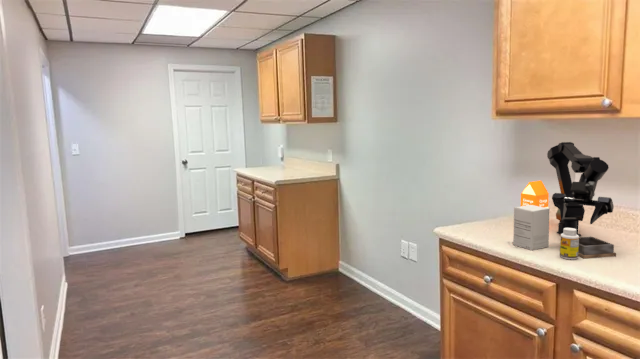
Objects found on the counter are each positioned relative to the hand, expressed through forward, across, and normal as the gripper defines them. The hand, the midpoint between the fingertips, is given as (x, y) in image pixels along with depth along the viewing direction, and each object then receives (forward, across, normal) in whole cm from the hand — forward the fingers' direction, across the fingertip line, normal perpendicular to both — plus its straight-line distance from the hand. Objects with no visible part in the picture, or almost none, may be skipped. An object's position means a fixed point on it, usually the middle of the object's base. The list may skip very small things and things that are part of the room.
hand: (575, 221), depth 156 cm
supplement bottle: (+13, 0, +4) cm, 13 cm away
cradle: (+5, +3, +11) cm, 13 cm away
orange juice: (-16, -26, +32) cm, 44 cm away
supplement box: (+8, -15, +9) cm, 19 cm away
